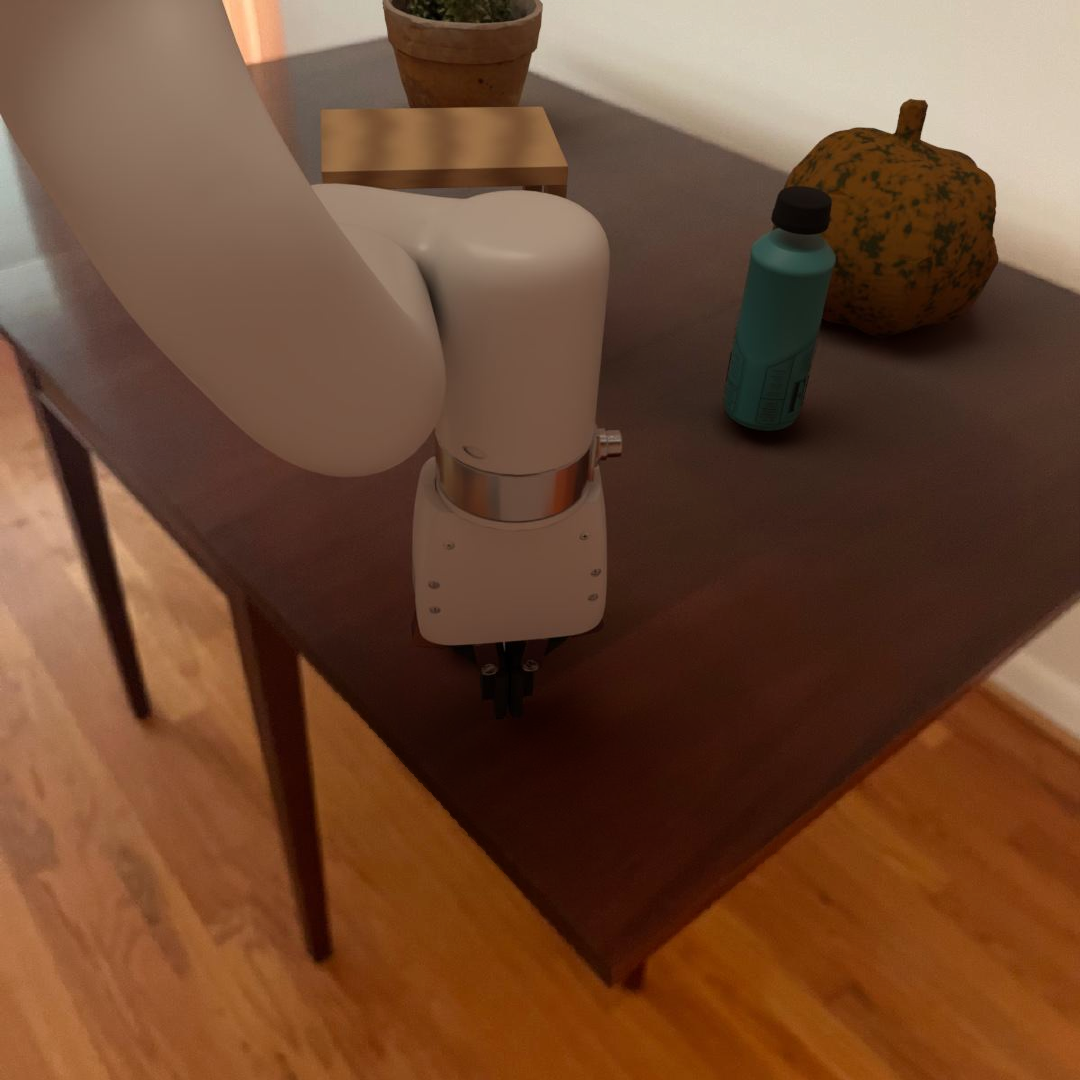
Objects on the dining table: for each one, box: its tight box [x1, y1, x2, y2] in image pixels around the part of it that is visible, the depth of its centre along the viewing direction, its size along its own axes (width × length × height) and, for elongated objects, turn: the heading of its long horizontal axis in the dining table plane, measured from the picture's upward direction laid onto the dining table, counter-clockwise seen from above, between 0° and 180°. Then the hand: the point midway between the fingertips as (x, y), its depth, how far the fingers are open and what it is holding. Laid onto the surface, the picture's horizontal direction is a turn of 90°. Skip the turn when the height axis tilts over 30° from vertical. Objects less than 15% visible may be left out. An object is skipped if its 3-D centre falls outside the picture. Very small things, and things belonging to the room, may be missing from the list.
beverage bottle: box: [722, 186, 836, 432], centre depth 81 cm, size 6×7×20 cm
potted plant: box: [381, 0, 544, 108], centre depth 123 cm, size 18×19×25 cm
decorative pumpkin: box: [771, 98, 999, 339], centre depth 97 cm, size 20×21×20 cm
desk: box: [320, 106, 569, 199], centre depth 87 cm, size 18×12×20 cm, turn 99°
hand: (505, 699), depth 63 cm, fingers closed
